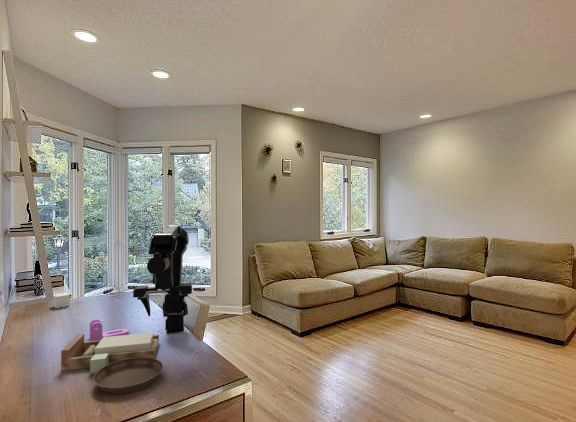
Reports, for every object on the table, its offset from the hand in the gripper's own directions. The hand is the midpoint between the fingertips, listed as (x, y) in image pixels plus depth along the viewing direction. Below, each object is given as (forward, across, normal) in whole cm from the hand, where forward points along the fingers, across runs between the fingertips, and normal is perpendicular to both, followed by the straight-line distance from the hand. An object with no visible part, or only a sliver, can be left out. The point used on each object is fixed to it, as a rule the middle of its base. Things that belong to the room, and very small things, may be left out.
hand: (163, 315), depth 115 cm
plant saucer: (+13, +7, +19) cm, 24 cm away
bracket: (+12, +22, -20) cm, 32 cm away
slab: (+10, +12, 0) cm, 15 cm away
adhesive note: (+12, +57, -73) cm, 94 cm away
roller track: (+12, +14, 0) cm, 19 cm away
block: (+12, +17, +10) cm, 23 cm away
